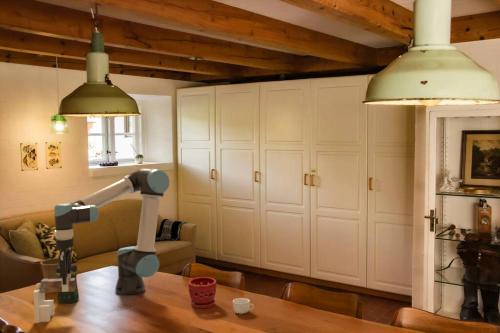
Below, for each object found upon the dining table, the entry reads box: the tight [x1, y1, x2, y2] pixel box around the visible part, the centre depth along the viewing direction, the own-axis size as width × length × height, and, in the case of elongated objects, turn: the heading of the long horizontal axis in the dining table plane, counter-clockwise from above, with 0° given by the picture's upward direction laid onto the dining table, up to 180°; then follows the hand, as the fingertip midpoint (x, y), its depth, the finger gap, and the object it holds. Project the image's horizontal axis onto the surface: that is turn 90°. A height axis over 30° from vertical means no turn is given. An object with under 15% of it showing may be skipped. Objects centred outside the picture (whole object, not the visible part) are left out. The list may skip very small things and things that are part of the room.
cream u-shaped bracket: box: [32, 282, 55, 324], centre depth 227 cm, size 6×10×16 cm, turn 7°
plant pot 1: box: [40, 257, 59, 294], centre depth 268 cm, size 15×15×16 cm
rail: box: [40, 277, 77, 294], centre depth 228 cm, size 14×4×5 cm, turn 97°
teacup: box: [232, 297, 255, 315], centre depth 230 cm, size 10×8×5 cm
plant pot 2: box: [188, 276, 217, 309], centre depth 240 cm, size 13×13×12 cm
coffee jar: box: [56, 263, 80, 304], centre depth 251 cm, size 10×8×19 cm
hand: (66, 289), depth 228 cm, fingers closed on rail, 4 cm apart
